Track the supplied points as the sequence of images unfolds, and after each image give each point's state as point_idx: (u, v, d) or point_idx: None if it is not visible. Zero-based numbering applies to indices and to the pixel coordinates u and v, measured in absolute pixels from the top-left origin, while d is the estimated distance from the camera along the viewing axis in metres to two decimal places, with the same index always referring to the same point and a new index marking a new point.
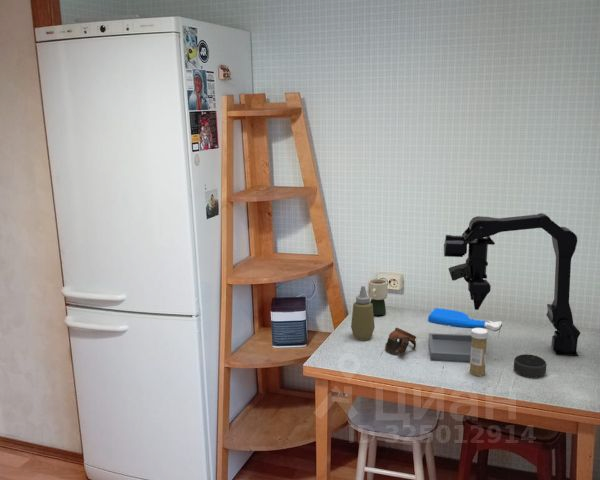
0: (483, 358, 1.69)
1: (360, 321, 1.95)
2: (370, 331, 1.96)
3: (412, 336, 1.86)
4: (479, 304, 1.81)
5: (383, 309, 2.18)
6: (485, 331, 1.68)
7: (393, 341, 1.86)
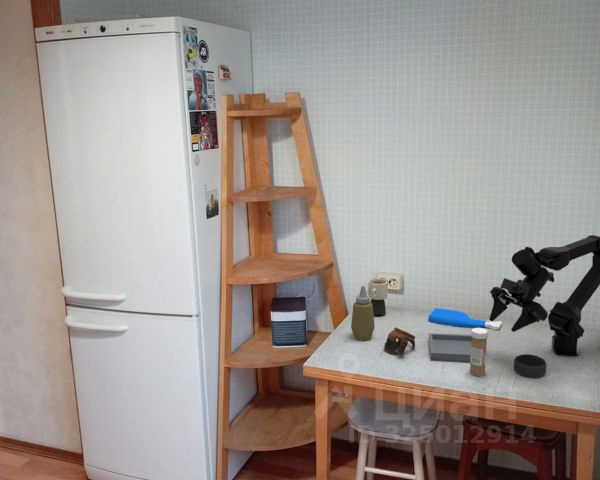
0: (483, 358, 1.69)
1: (360, 321, 1.95)
2: (370, 331, 1.96)
3: (411, 336, 1.86)
4: (519, 327, 1.68)
5: (383, 309, 2.18)
6: (485, 331, 1.68)
7: (392, 341, 1.86)
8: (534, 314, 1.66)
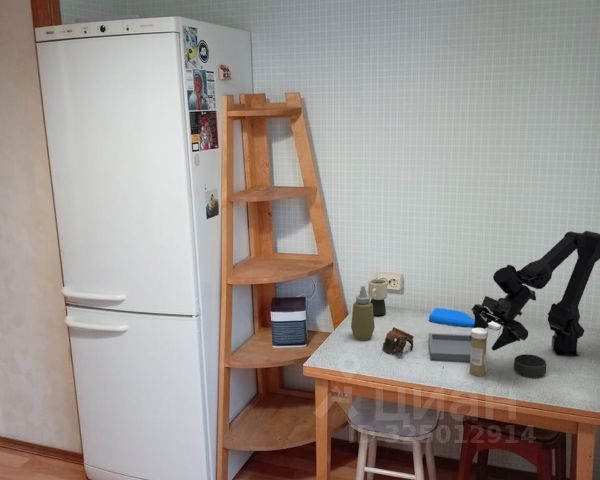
0: (483, 358, 1.69)
1: (360, 321, 1.95)
2: (370, 331, 1.96)
3: (409, 336, 1.86)
4: (499, 346, 1.66)
5: (383, 309, 2.18)
6: (485, 331, 1.68)
7: (390, 341, 1.86)
8: (515, 333, 1.64)
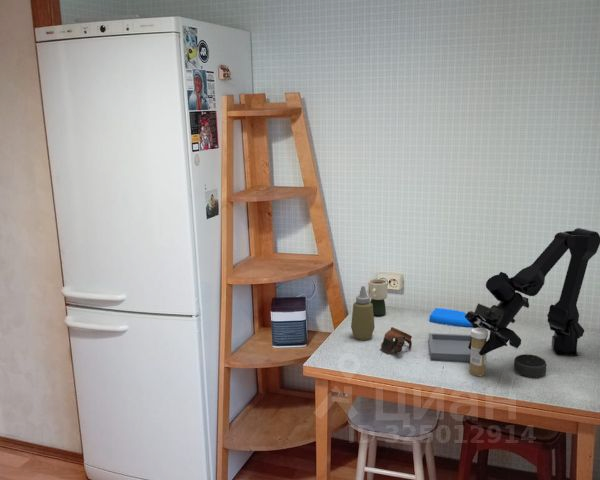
0: (483, 358, 1.69)
1: (360, 321, 1.95)
2: (370, 331, 1.96)
3: (408, 336, 1.86)
4: (487, 351, 1.68)
5: (383, 309, 2.18)
6: (485, 331, 1.68)
7: (389, 341, 1.86)
8: (502, 338, 1.65)
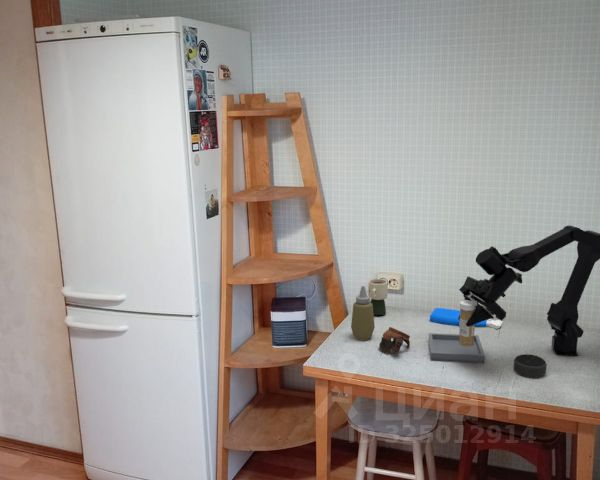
0: (470, 329, 1.74)
1: (360, 321, 1.95)
2: (370, 331, 1.96)
3: (406, 335, 1.87)
4: (473, 323, 1.72)
5: (383, 309, 2.18)
6: (473, 303, 1.73)
7: (387, 340, 1.86)
8: (487, 310, 1.69)
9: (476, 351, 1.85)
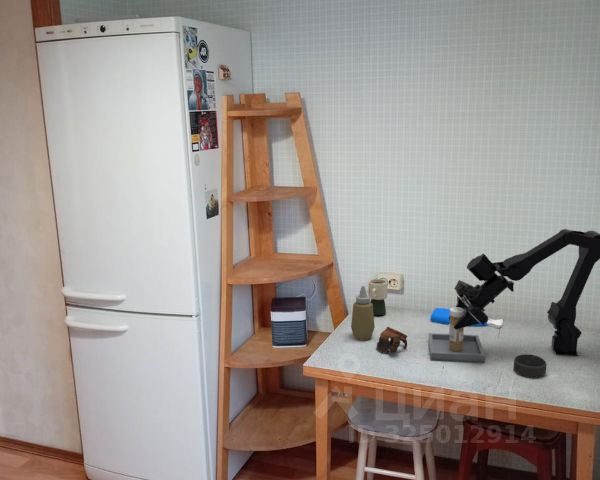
0: (458, 335, 1.84)
1: (360, 321, 1.95)
2: (370, 331, 1.96)
3: (403, 335, 1.87)
4: (461, 326, 1.80)
5: (383, 309, 2.18)
6: (461, 310, 1.82)
7: (384, 340, 1.86)
8: (473, 315, 1.77)
9: (476, 351, 1.85)
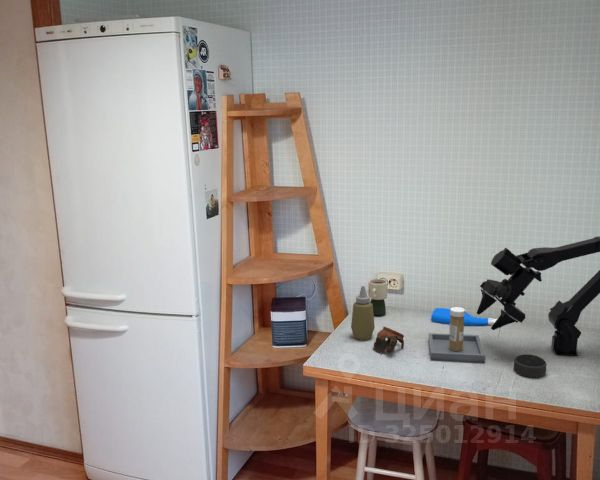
0: (458, 335, 1.84)
1: (360, 321, 1.95)
2: (370, 331, 1.96)
3: (400, 335, 1.87)
4: (498, 326, 1.80)
5: (383, 309, 2.18)
6: (461, 310, 1.83)
7: (381, 340, 1.87)
8: (511, 317, 1.76)
9: (476, 351, 1.85)
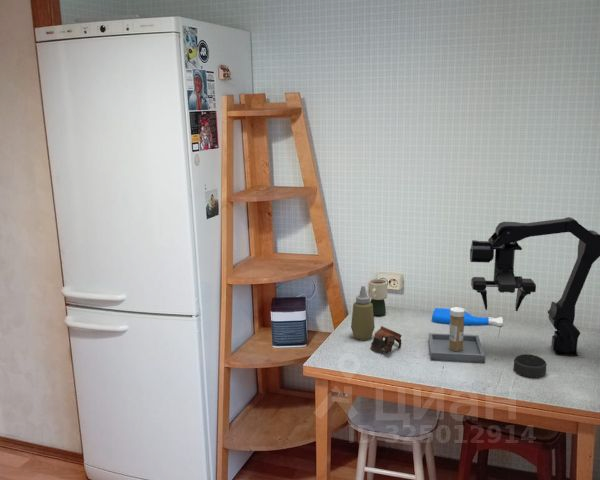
0: (458, 335, 1.84)
1: (360, 321, 1.95)
2: (370, 331, 1.96)
3: (397, 335, 1.87)
4: None
5: (383, 309, 2.18)
6: (461, 310, 1.83)
7: (379, 340, 1.87)
8: None
9: (476, 351, 1.85)
